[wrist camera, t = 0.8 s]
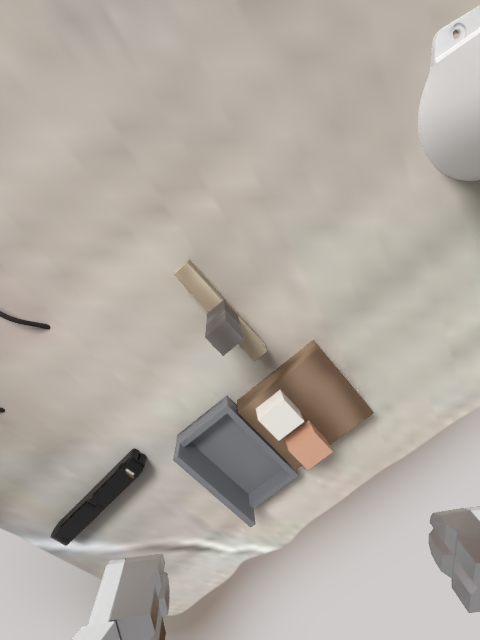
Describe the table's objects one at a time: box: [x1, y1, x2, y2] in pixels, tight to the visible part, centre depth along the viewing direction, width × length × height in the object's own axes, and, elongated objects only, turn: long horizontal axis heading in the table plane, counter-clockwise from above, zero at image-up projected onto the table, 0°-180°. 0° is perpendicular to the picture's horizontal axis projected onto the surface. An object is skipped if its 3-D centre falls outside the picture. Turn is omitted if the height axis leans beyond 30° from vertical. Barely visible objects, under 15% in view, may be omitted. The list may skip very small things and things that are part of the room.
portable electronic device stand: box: [51, 449, 147, 546], centre depth 47 cm, size 18×3×3 cm, turn 136°
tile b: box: [285, 420, 333, 470], centre depth 43 cm, size 4×4×2 cm
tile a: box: [256, 390, 304, 441], centre depth 41 cm, size 4×4×2 cm
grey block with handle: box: [174, 260, 267, 361], centre depth 36 cm, size 2×14×11 cm, turn 40°
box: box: [173, 396, 299, 527], centre depth 45 cm, size 9×15×5 cm, turn 40°
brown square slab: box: [237, 340, 374, 470], centre depth 44 cm, size 13×12×3 cm
